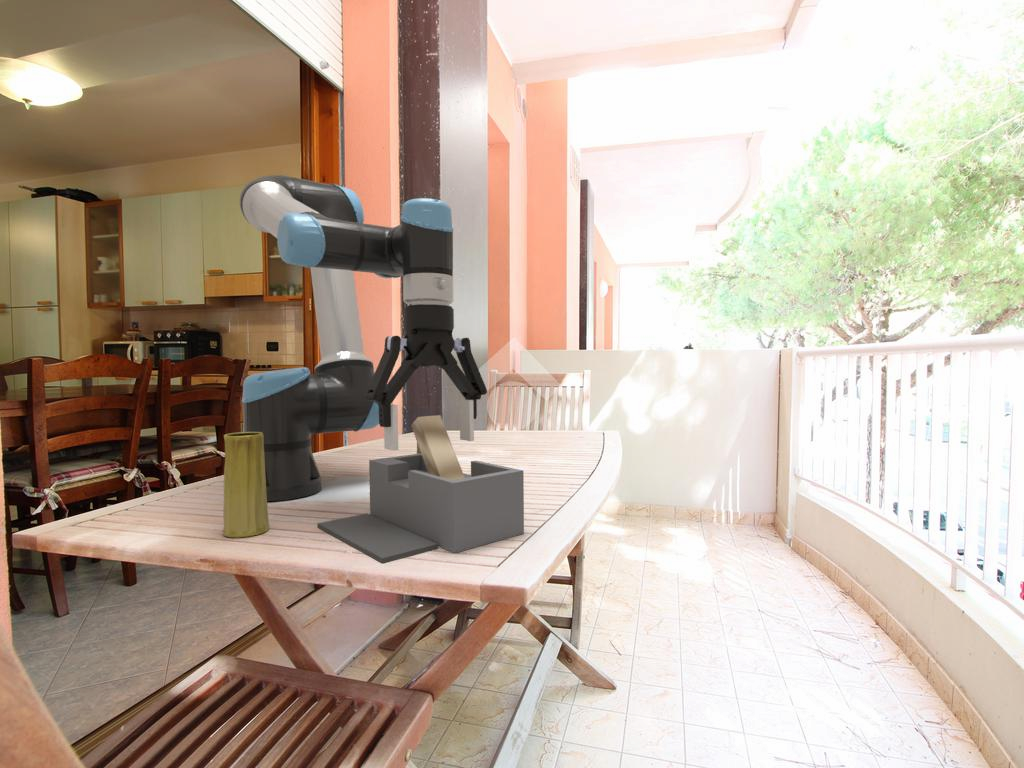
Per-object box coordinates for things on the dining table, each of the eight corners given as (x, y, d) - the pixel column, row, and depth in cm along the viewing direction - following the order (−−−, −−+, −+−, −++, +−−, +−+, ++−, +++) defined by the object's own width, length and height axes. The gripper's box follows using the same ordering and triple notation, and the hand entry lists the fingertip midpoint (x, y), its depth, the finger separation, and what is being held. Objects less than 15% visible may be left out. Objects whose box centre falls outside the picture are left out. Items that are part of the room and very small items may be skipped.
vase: (257, 523, 85) (254, 430, 85) (277, 530, 81) (274, 433, 81) (215, 532, 81) (212, 434, 80) (234, 541, 77) (231, 437, 76)
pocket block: (370, 516, 88) (369, 460, 88) (434, 503, 96) (433, 451, 96) (454, 553, 71) (453, 483, 71) (523, 533, 79) (523, 470, 78)
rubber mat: (317, 527, 83) (317, 523, 83) (367, 517, 88) (367, 513, 88) (382, 563, 68) (382, 558, 68) (437, 548, 73) (437, 543, 73)
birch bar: (411, 425, 86) (417, 416, 84) (433, 423, 88) (440, 415, 87) (451, 535, 78) (459, 528, 77) (473, 529, 81) (482, 522, 79)
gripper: (363, 296, 74) (367, 456, 74) (507, 307, 90) (508, 438, 91) (339, 302, 79) (343, 450, 80) (478, 311, 96) (480, 434, 96)
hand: (431, 444), depth 85 cm, fingers open, 13 cm apart
